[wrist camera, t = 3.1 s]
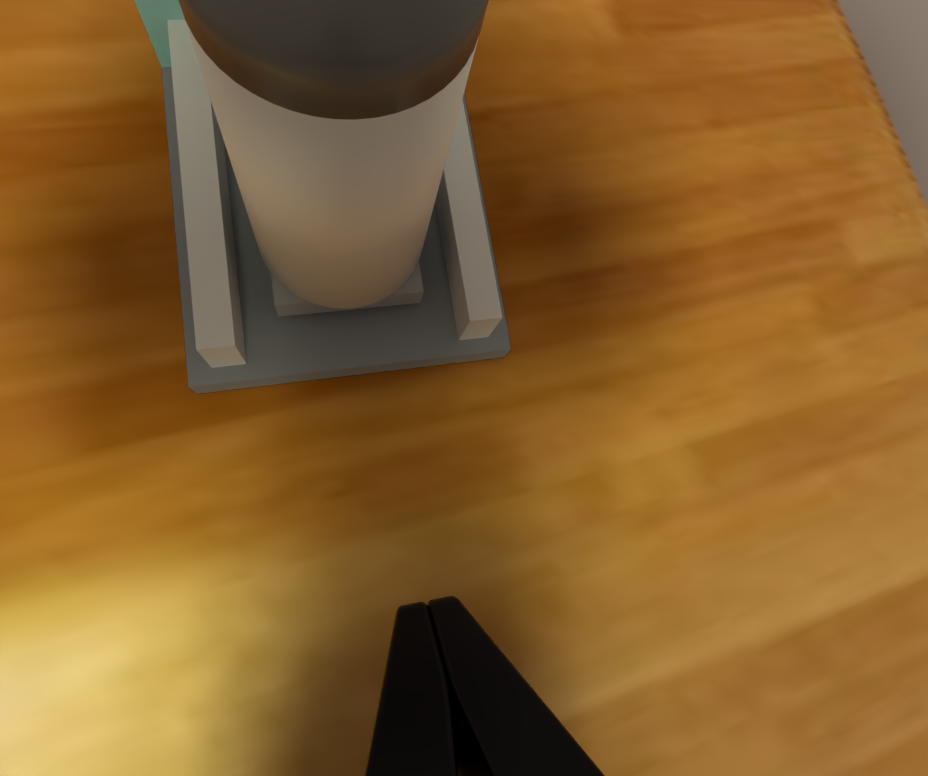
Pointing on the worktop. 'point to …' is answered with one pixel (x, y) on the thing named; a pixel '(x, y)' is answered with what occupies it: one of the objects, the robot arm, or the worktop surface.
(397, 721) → the robot arm
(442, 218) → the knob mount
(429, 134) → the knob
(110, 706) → the worktop surface
